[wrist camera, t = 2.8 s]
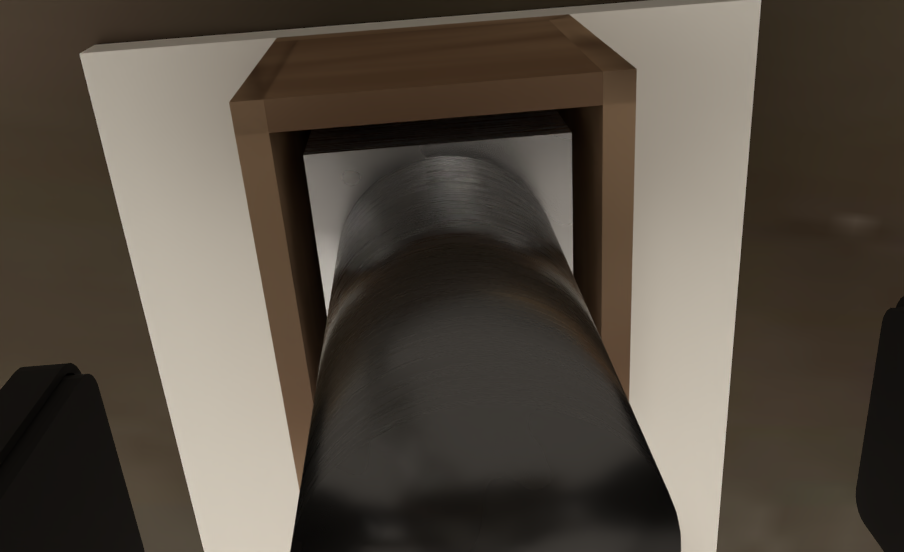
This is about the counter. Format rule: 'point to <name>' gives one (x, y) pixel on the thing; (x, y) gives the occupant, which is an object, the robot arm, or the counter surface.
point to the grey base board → (239, 282)
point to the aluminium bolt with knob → (464, 353)
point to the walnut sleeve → (424, 98)
